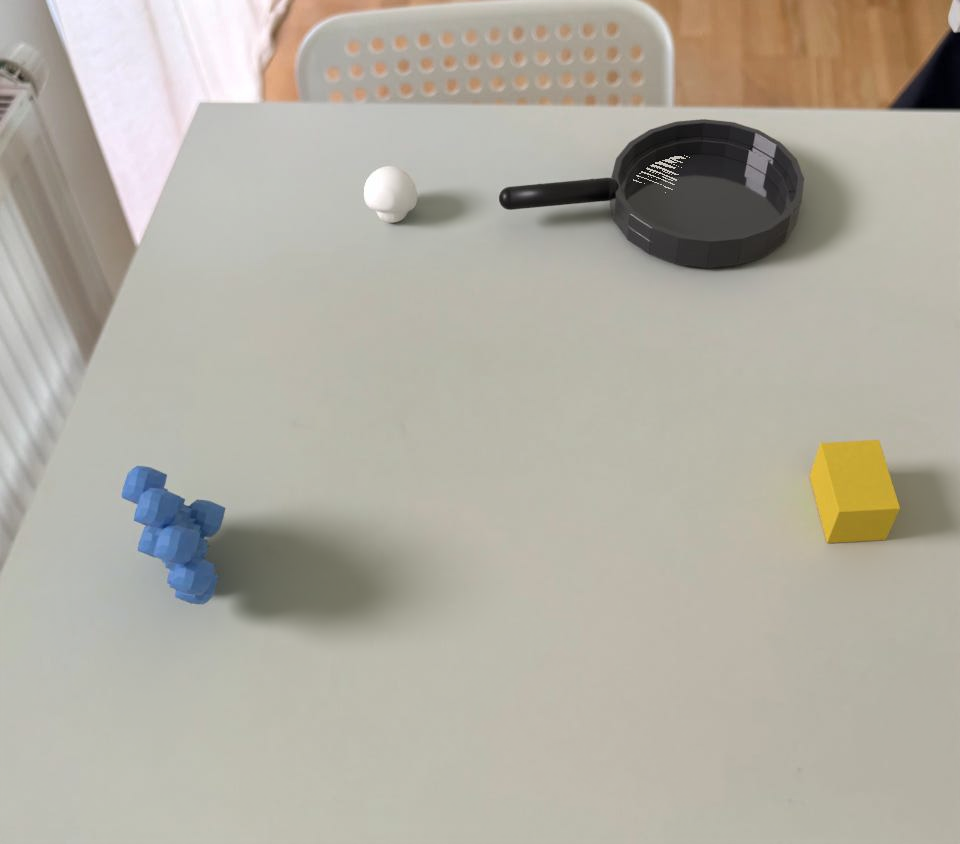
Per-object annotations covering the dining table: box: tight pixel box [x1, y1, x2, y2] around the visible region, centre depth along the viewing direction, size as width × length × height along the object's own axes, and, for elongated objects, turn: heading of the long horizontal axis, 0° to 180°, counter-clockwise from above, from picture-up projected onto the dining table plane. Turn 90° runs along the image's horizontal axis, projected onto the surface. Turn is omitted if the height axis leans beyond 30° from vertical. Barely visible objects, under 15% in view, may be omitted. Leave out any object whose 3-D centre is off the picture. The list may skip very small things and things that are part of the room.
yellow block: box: [809, 439, 901, 544], centre depth 82 cm, size 4×6×4 cm
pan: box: [609, 118, 805, 269], centre depth 102 cm, size 17×17×4 cm
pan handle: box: [498, 177, 619, 211], centre depth 101 cm, size 11×2×2 cm, turn 95°
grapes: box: [121, 465, 226, 605], centre depth 78 cm, size 12×7×12 cm, turn 31°
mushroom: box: [363, 165, 418, 224], centre depth 103 cm, size 5×5×5 cm
